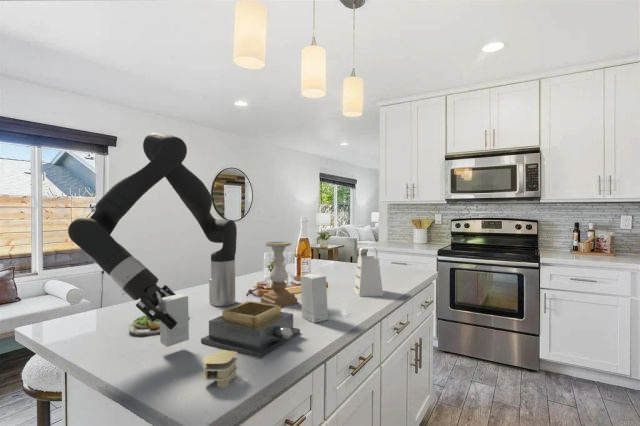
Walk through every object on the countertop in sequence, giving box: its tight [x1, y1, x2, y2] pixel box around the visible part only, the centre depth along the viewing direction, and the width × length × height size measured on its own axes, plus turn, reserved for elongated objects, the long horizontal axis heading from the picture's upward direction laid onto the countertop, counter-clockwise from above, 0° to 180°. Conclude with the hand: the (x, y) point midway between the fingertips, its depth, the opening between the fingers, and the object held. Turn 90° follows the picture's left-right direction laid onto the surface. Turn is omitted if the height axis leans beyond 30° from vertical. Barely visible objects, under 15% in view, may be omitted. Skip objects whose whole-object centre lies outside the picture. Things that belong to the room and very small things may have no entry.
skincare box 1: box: [159, 293, 190, 348], centre depth 89 cm, size 6×4×12 cm
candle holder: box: [260, 241, 298, 307], centre depth 135 cm, size 11×11×24 cm
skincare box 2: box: [299, 273, 329, 324], centre depth 115 cm, size 8×6×15 cm
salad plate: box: [128, 312, 190, 337], centre depth 108 cm, size 19×18×5 cm
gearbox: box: [200, 300, 301, 359], centre depth 97 cm, size 24×19×8 cm
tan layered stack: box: [202, 349, 239, 388], centre depth 74 cm, size 10×9×6 cm
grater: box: [353, 246, 384, 297], centre depth 149 cm, size 10×10×20 cm
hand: (180, 321), depth 89 cm, fingers closed on skincare box 1, 7 cm apart
